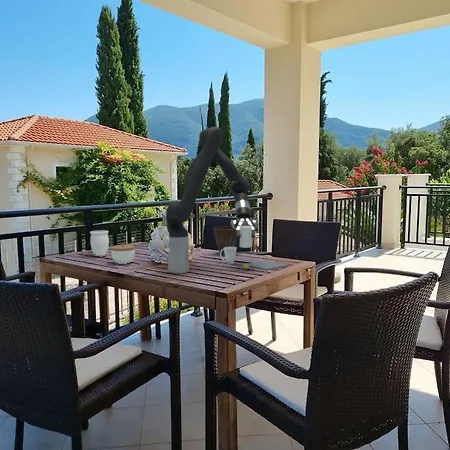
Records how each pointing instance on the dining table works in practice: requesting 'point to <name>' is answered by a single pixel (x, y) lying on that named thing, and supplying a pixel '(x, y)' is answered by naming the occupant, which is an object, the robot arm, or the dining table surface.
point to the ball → (245, 266)
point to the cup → (229, 254)
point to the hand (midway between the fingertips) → (246, 237)
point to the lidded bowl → (123, 253)
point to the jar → (99, 242)
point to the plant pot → (225, 237)
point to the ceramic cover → (245, 236)
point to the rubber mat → (266, 265)
